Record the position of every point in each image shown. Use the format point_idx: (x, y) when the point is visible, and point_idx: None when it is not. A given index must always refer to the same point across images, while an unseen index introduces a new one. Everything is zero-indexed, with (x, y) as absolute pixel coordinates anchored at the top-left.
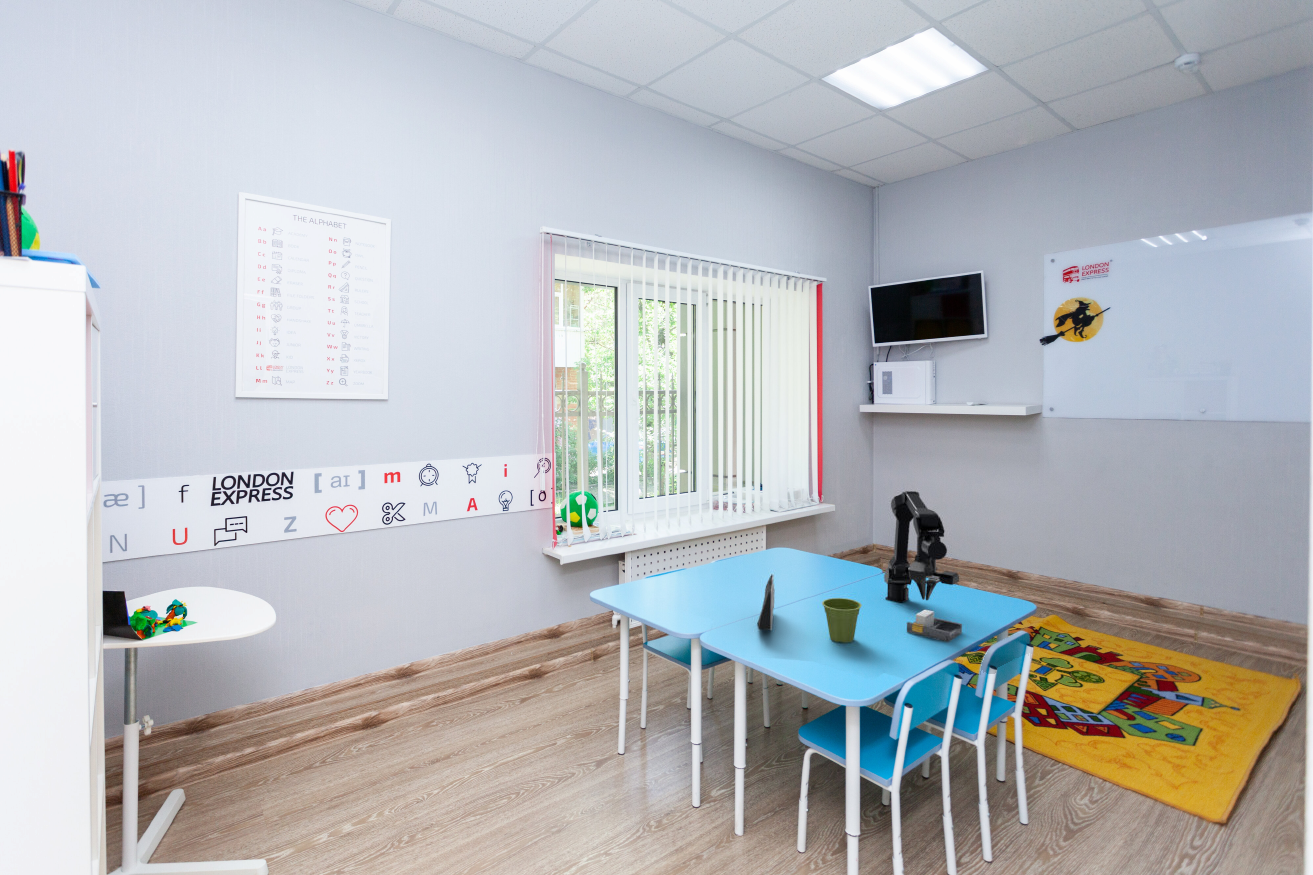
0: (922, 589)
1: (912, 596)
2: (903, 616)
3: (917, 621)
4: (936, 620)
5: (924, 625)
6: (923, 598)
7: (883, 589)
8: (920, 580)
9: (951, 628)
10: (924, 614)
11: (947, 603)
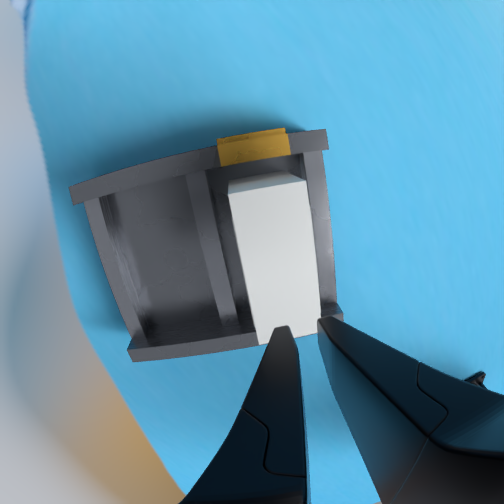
0: (372, 393)
1: None
2: (414, 307)
3: (281, 177)
4: (249, 327)
5: (231, 185)
6: (320, 323)
7: None
8: (482, 497)
9: (174, 326)
10: (266, 242)
11: (343, 470)
